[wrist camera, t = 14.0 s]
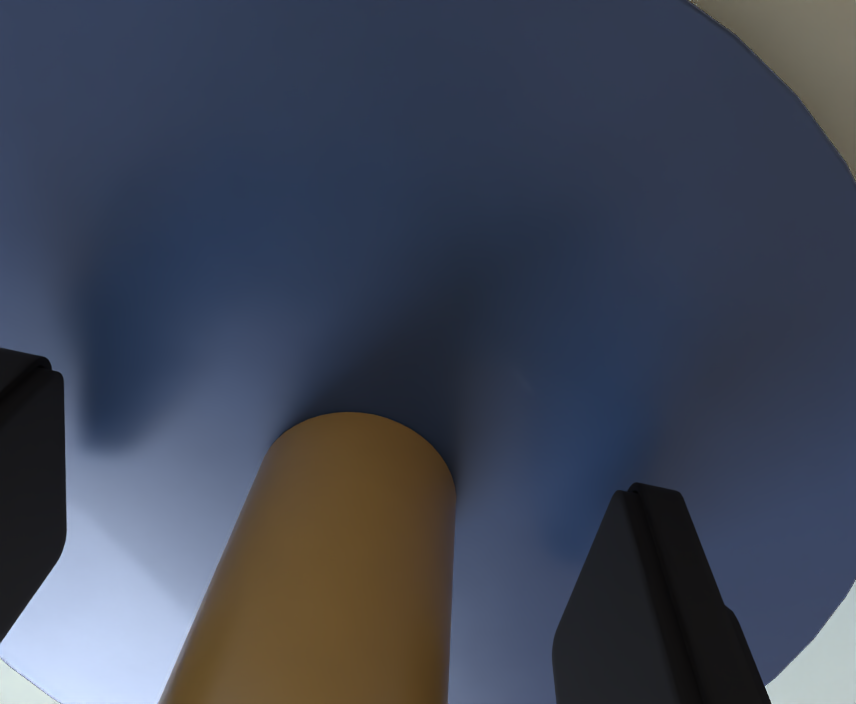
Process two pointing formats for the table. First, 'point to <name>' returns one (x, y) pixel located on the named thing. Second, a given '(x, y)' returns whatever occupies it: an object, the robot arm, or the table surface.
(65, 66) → the lid
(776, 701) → the table surface
